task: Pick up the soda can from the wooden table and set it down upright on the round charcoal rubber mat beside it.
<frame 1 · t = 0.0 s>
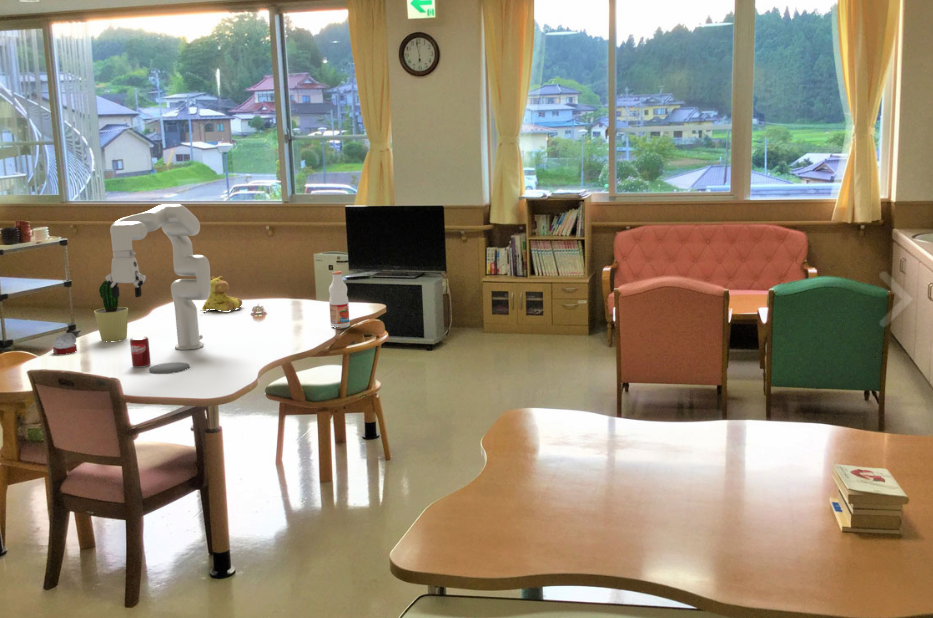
hand: (127, 296, 349), 31 cm above the table, tool pointing down, fingers open, 9 cm apart
giraffe plush: (222, 310, 495), on the table
snow globe: (65, 352, 396), on the table
soda can: (141, 366, 365), on the table
fruit juice: (340, 327, 435), on the table
charcoal mat: (169, 368, 359), on the table
potted cactus: (114, 340, 421), on the table
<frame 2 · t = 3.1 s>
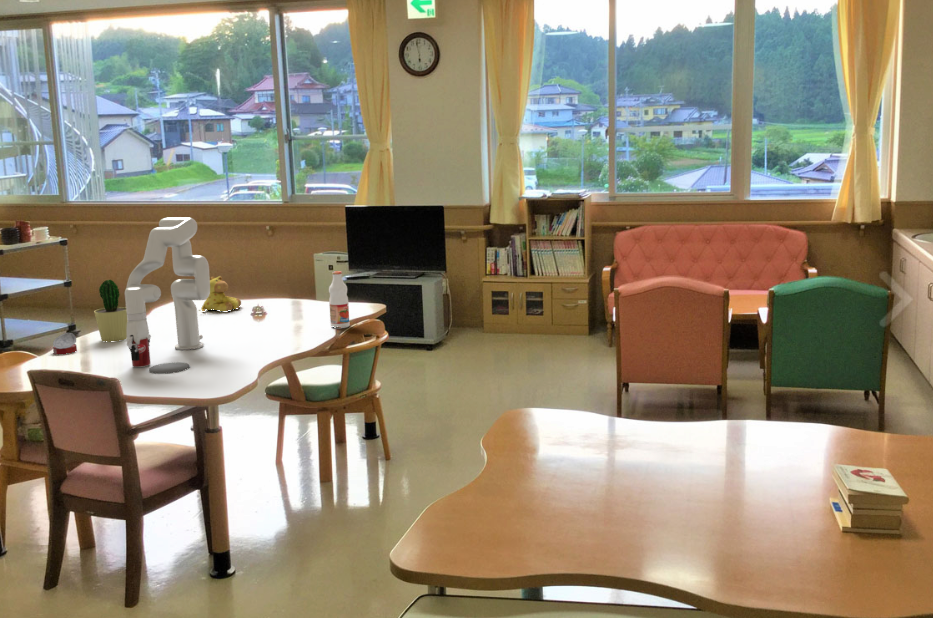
hand: (140, 357, 365), 3 cm above the table, tool pointing down, fingers closed on soda can, 7 cm apart
soda can: (141, 366, 365), on the table, touching gripper
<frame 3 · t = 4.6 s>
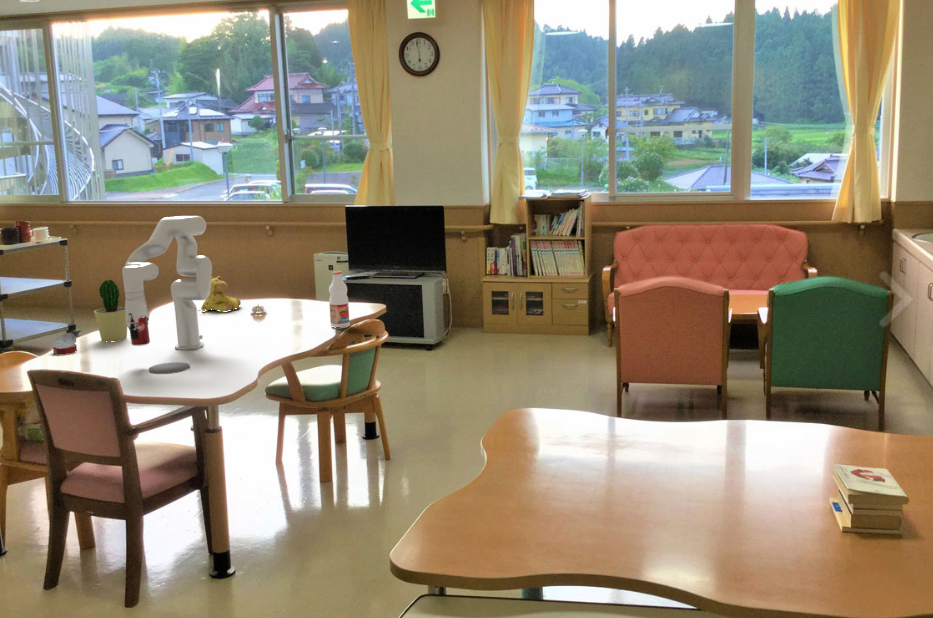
hand: (140, 336, 364), 13 cm above the table, tool pointing down, fingers closed on soda can, 7 cm apart
soda can: (141, 344, 365), point 9 cm above the table, touching gripper
everything else where it was.
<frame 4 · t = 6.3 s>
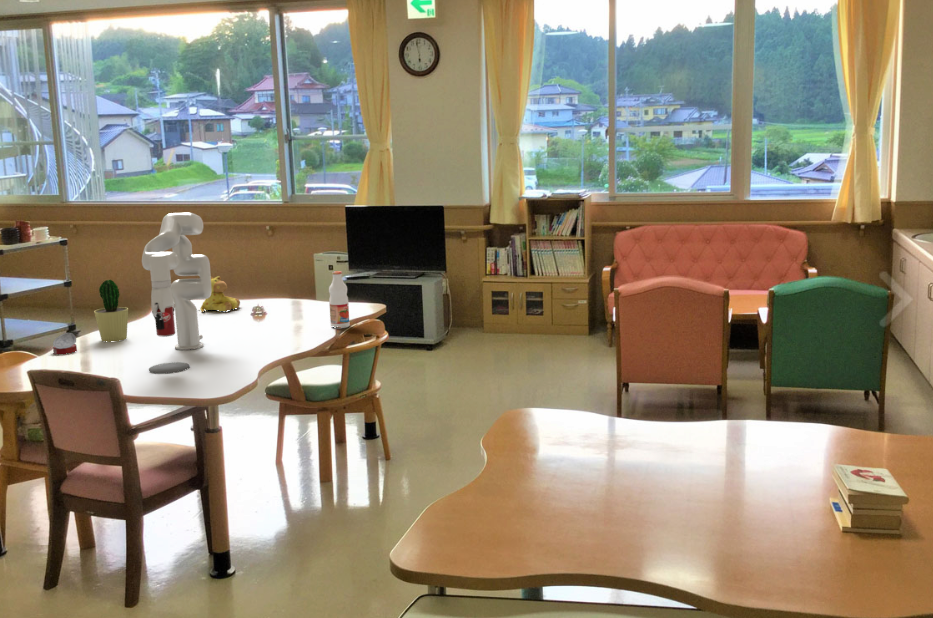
hand: (165, 327, 356), 18 cm above the table, tool pointing down, fingers closed on soda can, 7 cm apart
soda can: (166, 335, 356), point 14 cm above the table, touching gripper
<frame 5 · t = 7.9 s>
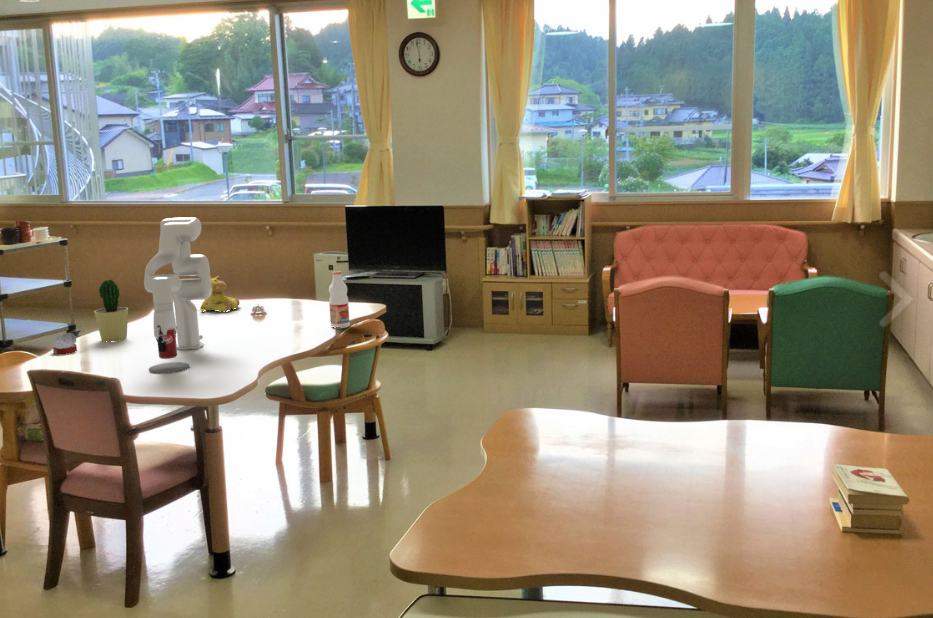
hand: (167, 349, 357), 8 cm above the table, tool pointing down, fingers closed on soda can, 7 cm apart
soda can: (168, 357, 358), point 5 cm above the table, touching gripper
when the fingers open (5 cm above the table, at t = 9.5 s): soda can drops 1 cm, resting on charcoal mat.
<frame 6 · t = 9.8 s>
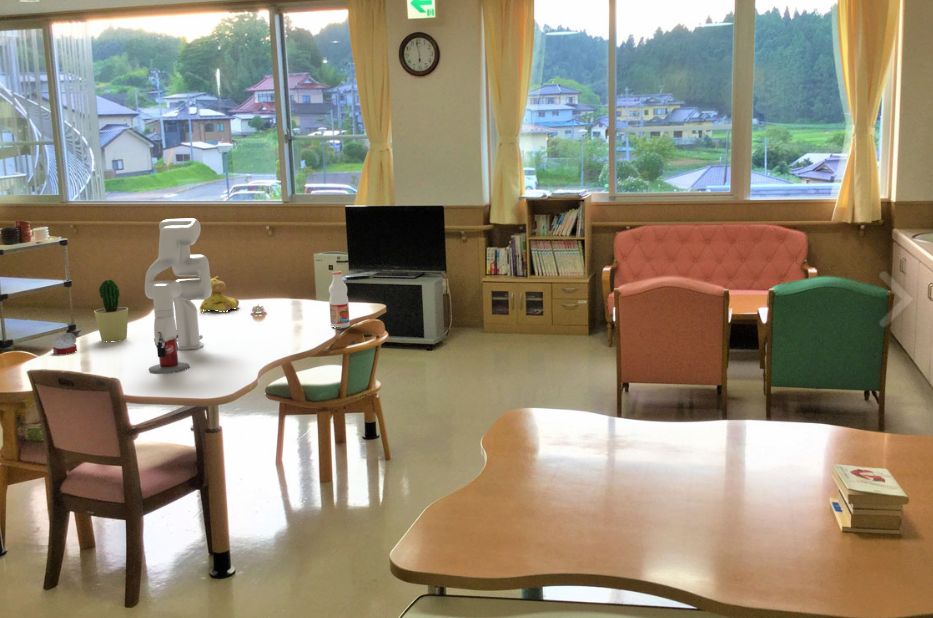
hand: (168, 354, 357), 6 cm above the table, tool pointing down, fingers open, 9 cm apart
soda can: (169, 367, 359), point 1 cm above the table, touching charcoal mat
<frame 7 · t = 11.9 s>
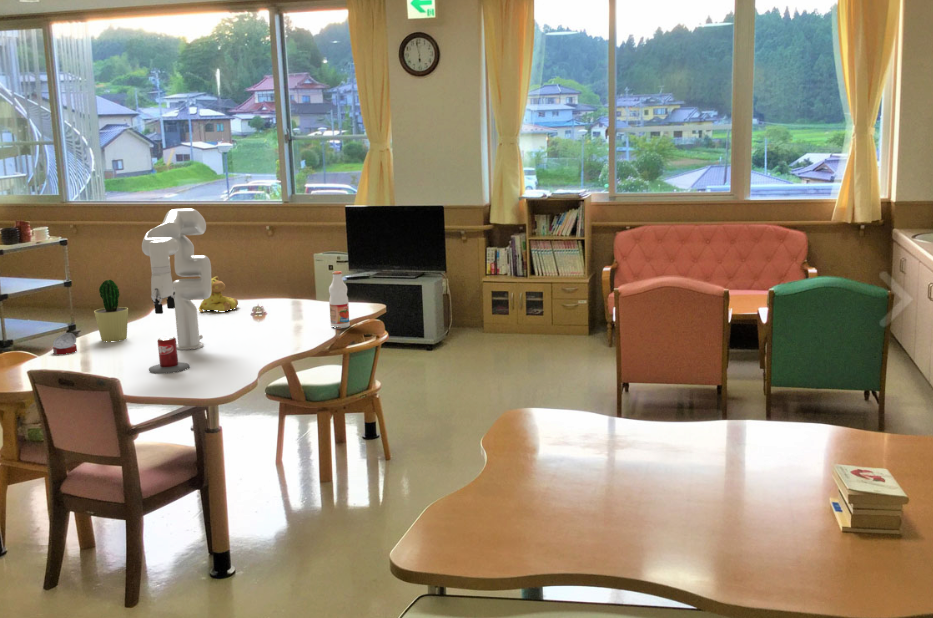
hand: (165, 311, 360), 23 cm above the table, tool pointing down, fingers open, 9 cm apart
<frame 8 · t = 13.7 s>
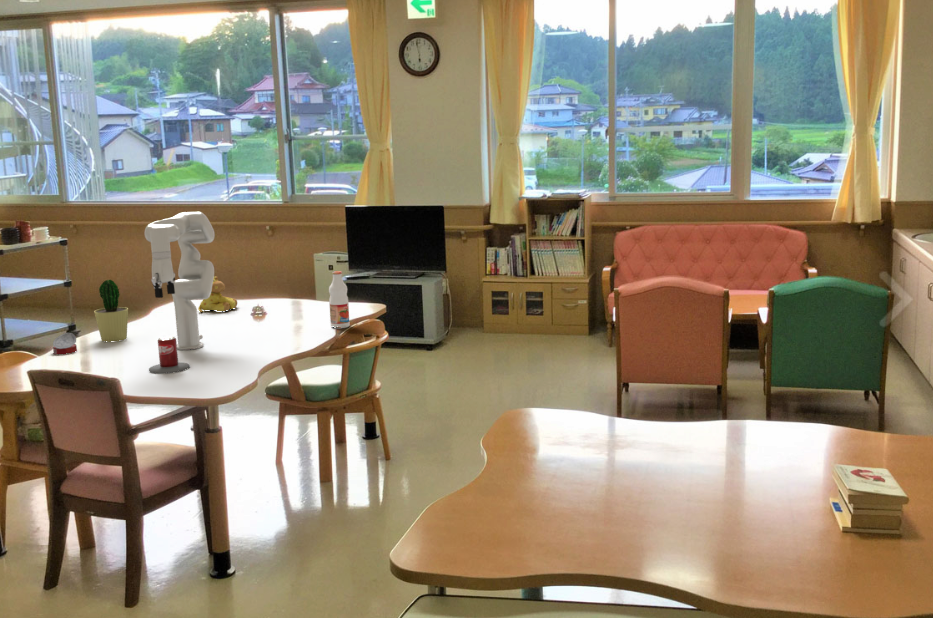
hand: (165, 295, 368), 28 cm above the table, tool pointing down, fingers open, 9 cm apart
at the end: soda can 0.3 cm from the charcoal mat (horizontally); soda can tilted 0°; the gripper is holding nothing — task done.
